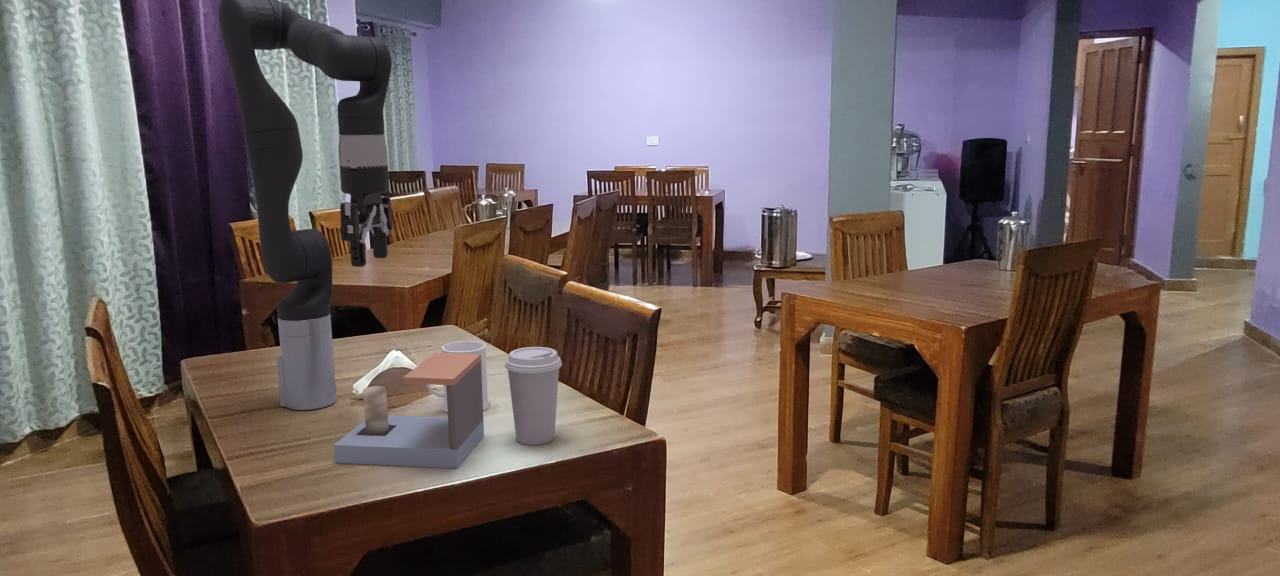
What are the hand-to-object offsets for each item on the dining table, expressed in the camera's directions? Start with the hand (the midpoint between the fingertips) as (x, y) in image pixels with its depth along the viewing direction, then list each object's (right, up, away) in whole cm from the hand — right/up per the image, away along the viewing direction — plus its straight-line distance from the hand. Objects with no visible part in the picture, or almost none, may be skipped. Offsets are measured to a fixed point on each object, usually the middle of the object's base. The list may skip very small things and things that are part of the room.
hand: (370, 261), depth 140 cm
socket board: (+7, -31, -1) cm, 32 cm away
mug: (+11, -27, +19) cm, 35 cm away
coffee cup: (+27, -30, +4) cm, 41 cm away
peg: (+1, -31, 0) cm, 31 cm away
